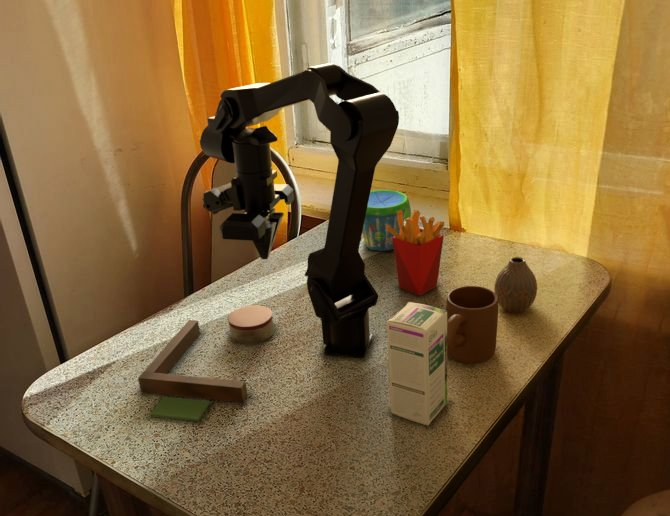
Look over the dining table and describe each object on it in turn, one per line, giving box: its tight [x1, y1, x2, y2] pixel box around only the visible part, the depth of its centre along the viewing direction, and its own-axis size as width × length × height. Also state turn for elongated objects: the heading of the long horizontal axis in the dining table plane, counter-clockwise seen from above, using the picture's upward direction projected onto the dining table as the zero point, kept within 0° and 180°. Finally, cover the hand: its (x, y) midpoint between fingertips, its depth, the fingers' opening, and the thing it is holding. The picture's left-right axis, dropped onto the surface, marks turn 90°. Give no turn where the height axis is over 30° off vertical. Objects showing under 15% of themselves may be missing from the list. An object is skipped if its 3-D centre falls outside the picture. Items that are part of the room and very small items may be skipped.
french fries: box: [385, 209, 445, 296], centre depth 116 cm, size 9×8×15 cm
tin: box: [227, 304, 275, 345], centre depth 109 cm, size 7×7×3 cm
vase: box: [493, 256, 538, 314], centre depth 111 cm, size 7×7×9 cm
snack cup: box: [361, 189, 412, 252], centre depth 136 cm, size 16×10×10 cm
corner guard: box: [137, 319, 248, 403], centre depth 101 cm, size 16×17×2 cm
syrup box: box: [386, 301, 448, 427], centre depth 86 cm, size 6×6×14 cm
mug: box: [445, 285, 499, 365], centre depth 98 cm, size 12×8×9 cm, turn 148°
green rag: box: [150, 396, 211, 422], centre depth 92 cm, size 7×4×1 cm, turn 78°
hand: (265, 258), depth 113 cm, fingers closed
